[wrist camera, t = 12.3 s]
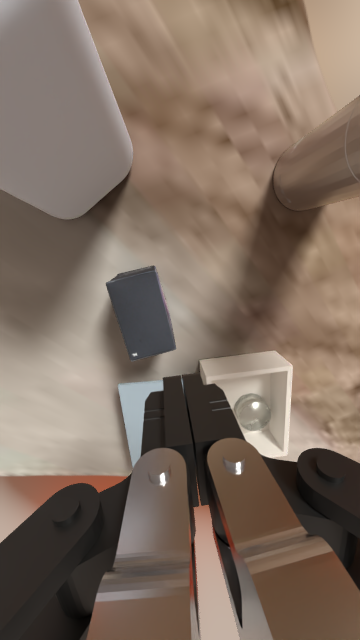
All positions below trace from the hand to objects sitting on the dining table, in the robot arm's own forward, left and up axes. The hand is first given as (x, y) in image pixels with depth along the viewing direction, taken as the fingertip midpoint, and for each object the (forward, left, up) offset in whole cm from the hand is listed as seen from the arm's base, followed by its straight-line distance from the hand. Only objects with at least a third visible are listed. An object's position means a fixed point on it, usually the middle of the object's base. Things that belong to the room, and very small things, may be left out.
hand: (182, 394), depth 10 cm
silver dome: (-3, +29, -30) cm, 41 cm away
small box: (+3, +1, -31) cm, 31 cm away
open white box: (-2, +26, -30) cm, 40 cm away
